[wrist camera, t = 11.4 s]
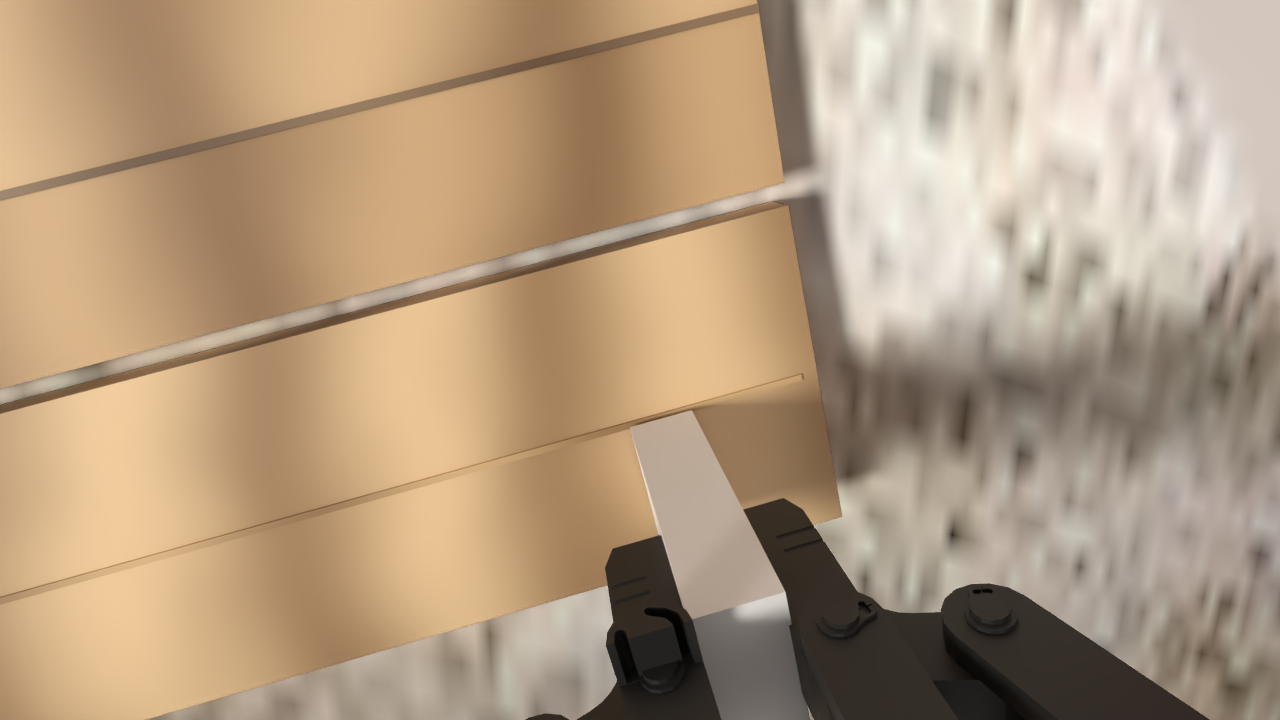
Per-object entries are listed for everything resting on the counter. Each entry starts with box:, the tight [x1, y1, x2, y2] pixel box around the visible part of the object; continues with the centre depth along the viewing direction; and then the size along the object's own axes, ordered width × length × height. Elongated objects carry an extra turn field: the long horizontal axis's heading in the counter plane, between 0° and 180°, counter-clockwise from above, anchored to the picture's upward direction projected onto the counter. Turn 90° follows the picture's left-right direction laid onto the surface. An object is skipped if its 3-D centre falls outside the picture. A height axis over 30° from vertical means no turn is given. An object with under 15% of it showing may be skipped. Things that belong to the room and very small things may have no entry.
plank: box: [0, 201, 842, 720], centre depth 17 cm, size 24×8×1 cm, turn 103°
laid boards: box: [0, 0, 785, 389], centre depth 14 cm, size 24×7×1 cm, turn 103°
